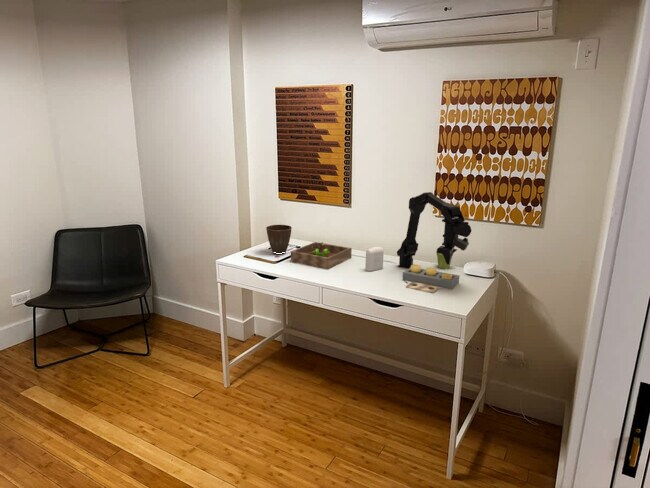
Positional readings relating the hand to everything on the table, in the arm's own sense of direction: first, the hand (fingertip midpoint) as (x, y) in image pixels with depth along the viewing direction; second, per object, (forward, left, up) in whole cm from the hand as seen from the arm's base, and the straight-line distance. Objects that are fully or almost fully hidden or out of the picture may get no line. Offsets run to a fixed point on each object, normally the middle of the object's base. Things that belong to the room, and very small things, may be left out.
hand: (448, 264), depth 219 cm
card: (-8, -10, -11) cm, 17 cm away
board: (-8, 0, -11) cm, 13 cm away
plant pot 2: (-10, +26, -11) cm, 30 cm away
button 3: (0, 0, -10) cm, 10 cm away
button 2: (-8, 0, -8) cm, 11 cm away
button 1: (-16, 0, -8) cm, 18 cm away
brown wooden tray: (-73, +1, -11) cm, 74 cm away
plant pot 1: (-101, -2, -11) cm, 102 cm away
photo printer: (-40, +2, -11) cm, 42 cm away
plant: (-73, +1, -11) cm, 74 cm away
